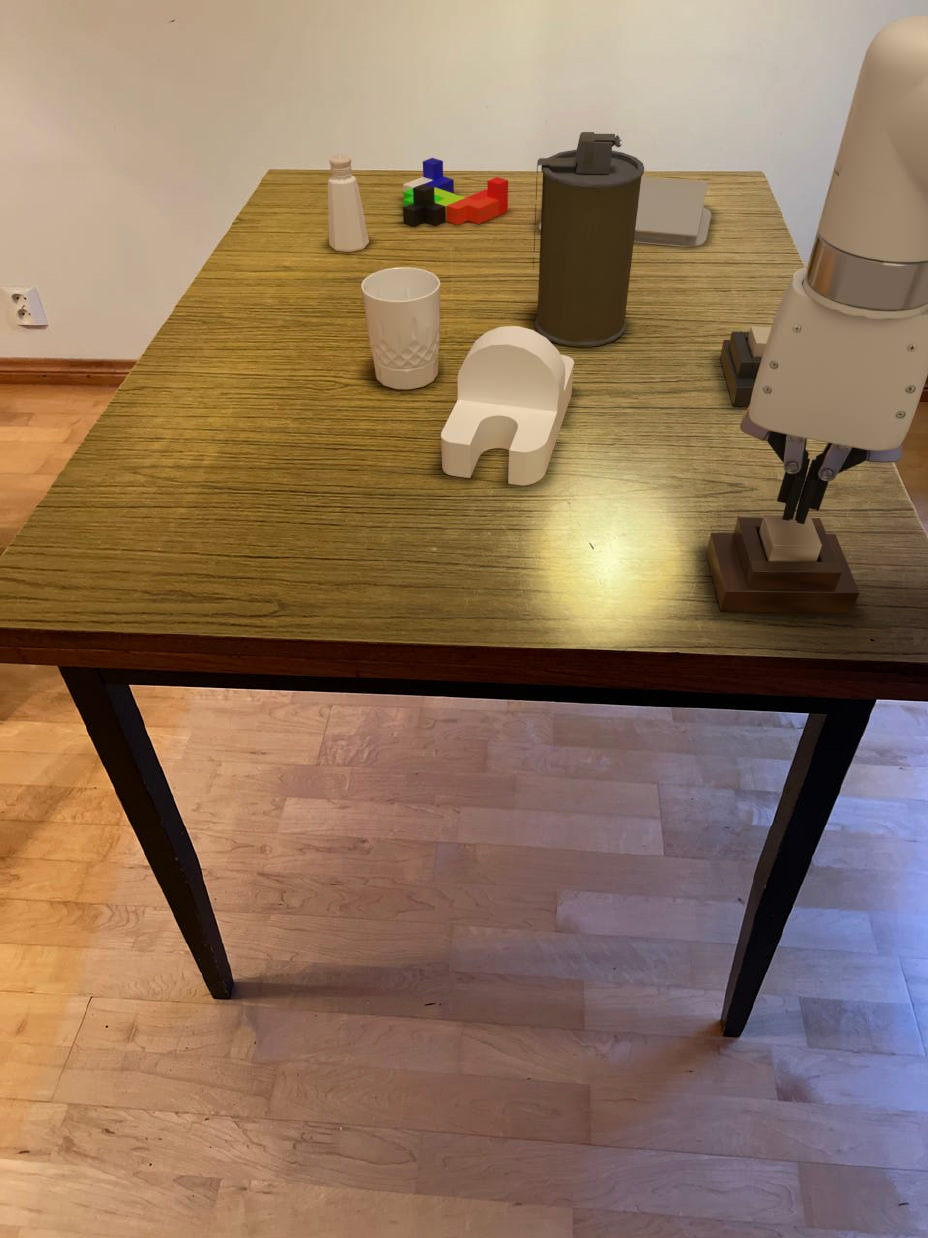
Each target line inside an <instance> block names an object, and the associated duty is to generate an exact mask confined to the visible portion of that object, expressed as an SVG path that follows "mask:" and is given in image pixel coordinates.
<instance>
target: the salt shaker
mask: <svg viewBox="0 0 928 1238" xmlns="http://www.w3.org/2000/svg"><path fill="white" fill-rule="evenodd" d="M328 161H329V165H330V167H329V168H330V172H331V176H330V177H329V178H328V179H327V205H328V206H327V207H328V208H327V209H328V211H327V212H328V213H327V214H328V245H329V246H330V248H332V249H333V250H334V251H335V252H341V253H343V252H344V253H353V252H358V251H361V250H364V249H365V248H366V247H367V246H368V244H370V239H369V235H368V234H369V233H368V229H367V224H366V219H365V212H364V208H363V203H362V198H361V193H360V188H359V187H360V186H359V183H358V178H357V177H356V176H354V175H353V173H352V170H353V169H352V157H351V156H349V155H347V154H335V155H332V156H330V157H329V158H328Z"/></svg>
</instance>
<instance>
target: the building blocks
mask: <svg viewBox="0 0 928 1238" xmlns="http://www.w3.org/2000/svg"><path fill="white" fill-rule="evenodd" d="M486 188H487V189H483V190H480V191H478V192H476V193H473V194H471V195H469V196H466V197H465V196H462V195H459V194H456V193H455V179H453V178H450V177H447V176H444V160H441V159H439V158H434V157H431V158H428V159H426V160H425V159H424V160H423V161H422V176H421V177H419V178H416V179H413V180H411V181H408V182H405V183H403V184H402V189H403V200H402V201H403V206H402V215H403V217H402V219H403V223H404V224H407V225H410V226H412V227H416V226H418V225H420V224H423V223H426V224H430V225H433V226H438V225H440V224H443V223H445V222H447V223H451V224H453V225H457V226H459V225H461V224H463V223H466V222H471V223H474V224H476V225H481V224H484V223H486V222H487V221H489V220H492V219H494V218H497V217H499V216H501V215H503V214H506V213H508V211H509V180H508V179H506V178H502V177H498V176H496V177H493V178H490V179H489V180H487V187H486Z"/></svg>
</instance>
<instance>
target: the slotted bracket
mask: <svg viewBox="0 0 928 1238" xmlns="http://www.w3.org/2000/svg"><path fill="white" fill-rule="evenodd" d="M574 366H575V361H574V359H573V358H572V357H571V356H568V355H565V354H560V352H559V350H558V349H557V348H556V346H555V345H554V344H553V343H552V341H549V340H548V339H547V338H545V337H544V336H542V335H541V334H539V332H538V331H535V330H534V329H530V328H526V327H523V326H519V325H507V326H506V325H505V326H498V327H496V328H493V329H491V330H488V331H486V332H484V333H483V335H482V334H481V336H480V337H479V338H477V339H476V340H475V341H474V343H473V345H472V346H471V348H470V350H469V351H468V353H467V355H466V357H465V358H464V361H463V362H462V364H461V365H460V367H459V370H458V372H457V383H456V384H457V401H456V403H455V404H454V407H453V409H452V411H451V412H450V415H449V416H448V418H447V420H446V422H445V424H444V426H443V428H442V430H441V432H440V445H441V446H440V447H441V469H442V471H443V473H445V474H446V475H448V476H453V477H459V478H466V479H471V477H472V475H473V472H474V470H475V468H476V466H477V463H478V461H479V459H480V457H481V455H482V454H483V453H484V452H486V451H489V450H492V449H504V450H507V451H508V480H507V481H508V485H515V486H523V487H524V486H529V485H532V484H535V483H537V482H540V481H541V480H542V479H543V478H544V477H545V475H546V473H547V471H548V467H549V464H550V461H551V458H552V455H553V452H554V449H555V447H556V443H557V441H558V438H559V435H560V434H559V433H560V431H561V427H562V424H563V422H564V420H565V419H564V418H565V416H566V413H567V410H568V407H569V404H570V401H571V398H572V393H573V392H572V391H573V379H574V368H575V367H574Z"/></svg>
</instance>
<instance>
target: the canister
mask: <svg viewBox="0 0 928 1238" xmlns="http://www.w3.org/2000/svg"><path fill="white" fill-rule="evenodd" d="M578 137H579V138H578V142H577V146H576V149H571V150H566V151H559V152H558V153H556V154H553V155H551V156H549V157H540V158H539V159H537V163H536V173H539V172H538V171H539V170H538V169H539V168H538V167H539V166H540V167H541V173H542V185H541V186H542V187H541V189H542V190H541V213H540V222H541V230H540V236H539V237H540V239H539V240H540V242H539V266H538V267H539V268H538V292H537V316H536V318H535V320H534V326H535V329H536V332H537V333H539V334H540V335H542V336H544V337H545V338H547V339H548V340H549V341H550V342H551V343H552V342H553V343H555V344H558V345H559V346H567V347H574V348H577V347H578V348H594V347H598V346H603V345H606V344H611V343H612V342H614V341H616V340H617V339H619V338H621V337H622V335H623V334H624V333H625V332H626V327H627V323H626V313H627V304H628V297H629V295H628V294H629V287H630V279H631V271H632V261H633V252H634V243H635V242H634V236H635V228H636V219H637V210H638V202H639V193H640V185H641V177H643V175H644V174H645V165H644V163H643V162H642V161H641V160H639V158H637V157H636V156H633V155H630V154H627V153H625V152H622V151H618V150H613V147H614V146H615V147H616V148H621V147H622V145H623V144H622V143H621V142H622V139H620V138H621V137H620V136H619V135H618V134H617V135H616V134H615V133H595V131H582V132H580V134H579V136H578ZM535 183H536V184H535V199H537V196H538V191H537V190H538V178H536V182H535ZM536 220H537V205H535V210H534V225H536V224H537V223H536ZM533 234H534V235H533V251H535V250H536V249H535V248H536V247H535V244H536V231H534V233H533ZM532 262H533V263H532V269H534V267H535V258H533V260H532Z"/></svg>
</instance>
